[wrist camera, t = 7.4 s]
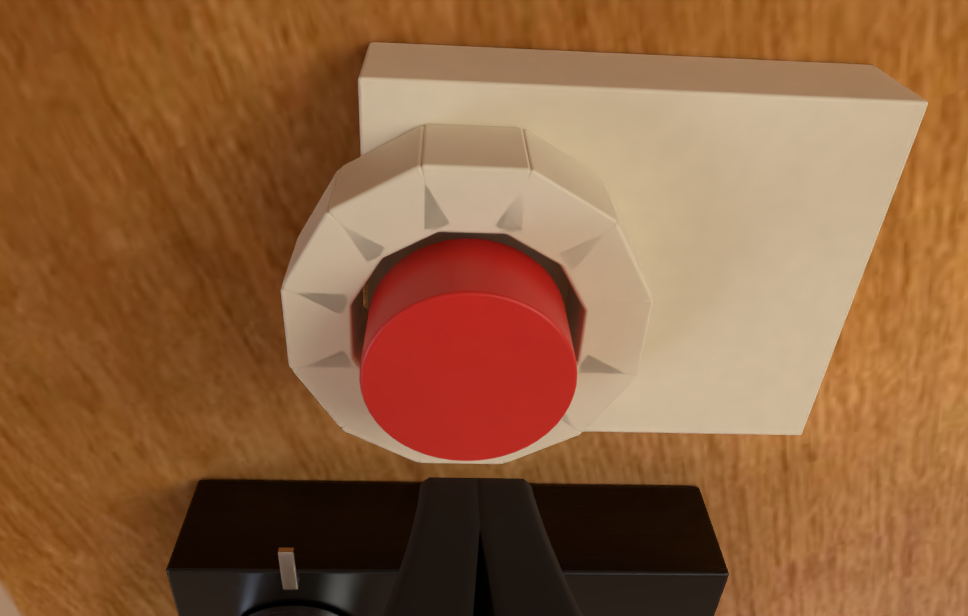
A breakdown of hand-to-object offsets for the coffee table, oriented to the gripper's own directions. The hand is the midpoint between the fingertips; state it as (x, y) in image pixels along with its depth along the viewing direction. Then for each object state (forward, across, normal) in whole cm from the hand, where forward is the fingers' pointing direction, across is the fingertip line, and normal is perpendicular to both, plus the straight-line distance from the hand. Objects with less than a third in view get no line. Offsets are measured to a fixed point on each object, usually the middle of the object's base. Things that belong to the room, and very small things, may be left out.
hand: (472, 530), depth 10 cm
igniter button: (+5, 0, 0) cm, 5 cm away
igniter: (+8, -3, 0) cm, 9 cm away
